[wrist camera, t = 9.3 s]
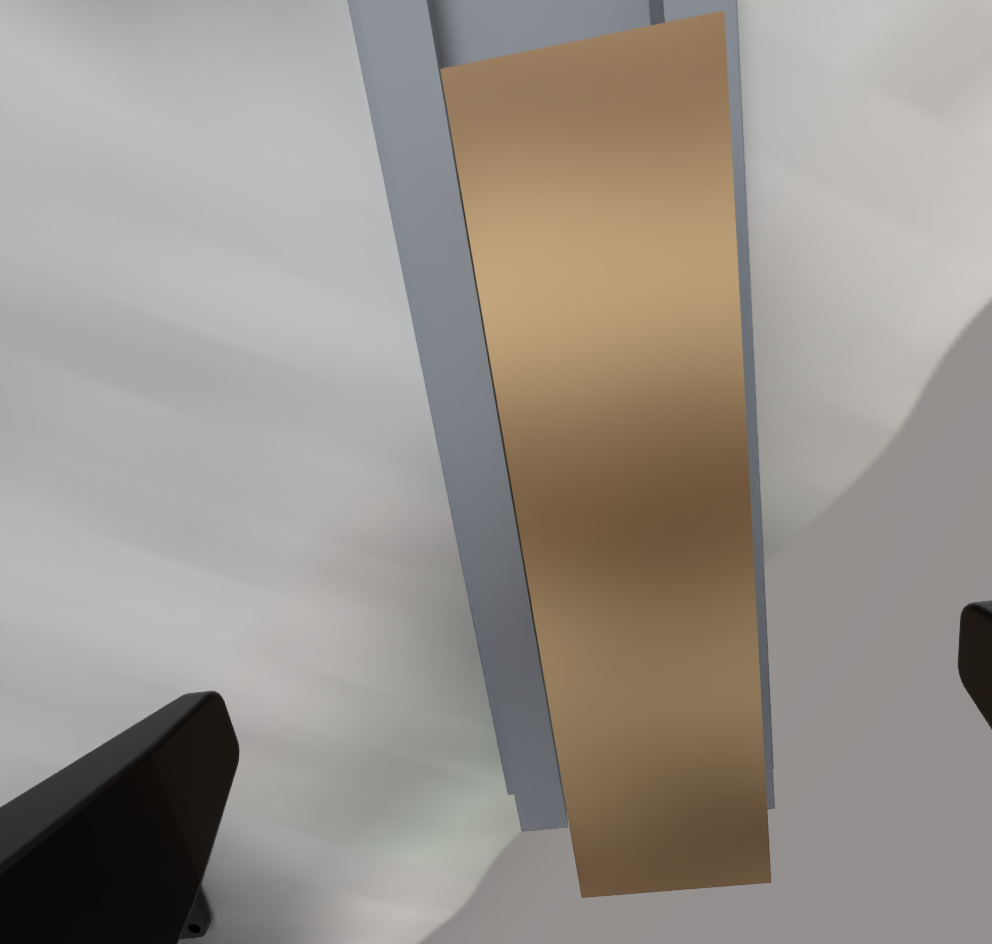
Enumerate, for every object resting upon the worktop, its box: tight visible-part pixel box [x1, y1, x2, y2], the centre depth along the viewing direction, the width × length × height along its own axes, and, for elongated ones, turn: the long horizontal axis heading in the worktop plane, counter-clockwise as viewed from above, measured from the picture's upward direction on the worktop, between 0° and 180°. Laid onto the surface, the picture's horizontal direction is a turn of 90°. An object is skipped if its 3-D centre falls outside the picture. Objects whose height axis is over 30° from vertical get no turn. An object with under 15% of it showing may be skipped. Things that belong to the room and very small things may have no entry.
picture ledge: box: [348, 0, 775, 831], centre depth 19 cm, size 26×9×3 cm, turn 9°
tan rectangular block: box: [440, 11, 771, 898], centre depth 15 cm, size 14×4×9 cm, turn 9°
